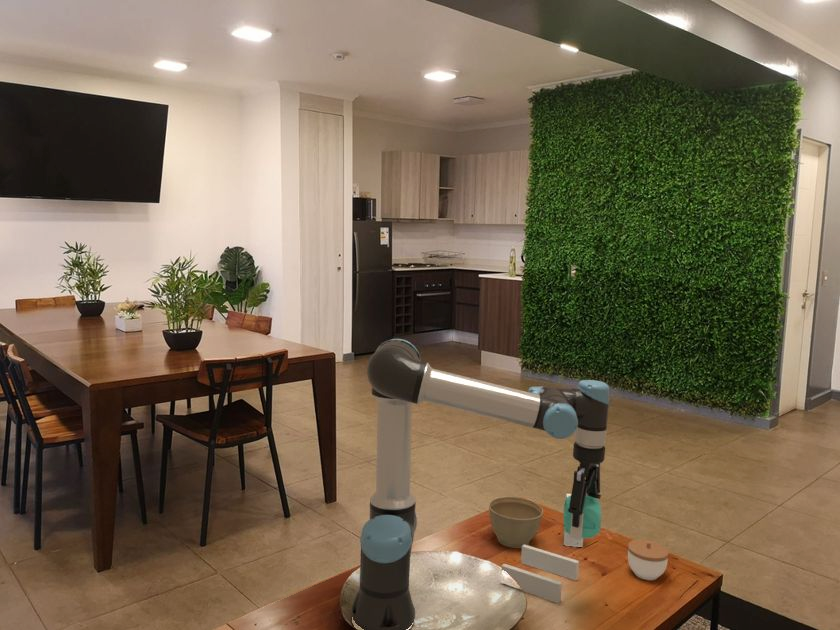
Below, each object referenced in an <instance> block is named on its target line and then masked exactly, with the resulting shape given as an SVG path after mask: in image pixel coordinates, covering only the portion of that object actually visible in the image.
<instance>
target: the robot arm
mask: <svg viewBox="0 0 840 630" xmlns="http://www.w3.org/2000/svg"><path fill="white" fill-rule="evenodd" d="M366 377H367V379H368V382H369V384H370V386H371V397H373V398H374V399H375V400H376V401H377V415H376V419H377V420H376V421H377V424H376V465H375V466H376V473H375V476H376V479H375V482H376V485H375V493H373V494H372V495H371V496H370V498H369V519H368V520H367V521H366V522H365V523H364V525H363V527H362V529H361V535H360V539H359V542H360V561H359V562H360V565H359V566H360V567H359V587H358V591H357V594H356V597H355V599H354V601H353V605H352V606H351V611H350V613H351V614H350V616H351V615H352V617H353V620H354V621H355V623H356V624H357V625H358V626H360V627H361V628H362V629H364V630H406V629H408V628H409V627H410V626H411V625H412V623H413V622H414V619H415V620H416V609H415V605H414V604H413V599H412V596H411V591H410V570H411V567H410V566H411V556H412V554H411V553H412V548H413V543H414V538H415V534H416V533H415V532H416V530H417V525H418V520H417V519H418V518H417V514H416V500H417V499H416V496H414V495H413V494H412V492H411V463H412V462H411V459H412V458H411V454H412V420H413V419H412V414H413V412H412V411H413V404H415V405H419V404H421V403H423V402H427V403H431V404H435V405H440V406H442V407H448V408H451V409H456V410H459V411H464V412H467V413H471V414H475V415H480V416H484V417H488V418H491V419H496V420H500V421H504V422H507V423H512V424H516V425H520V426H525V427H529V428H532V429H535V430H536V429H537V430H539V431H542V432H543V431H544V432H546V434H548V435H549V436H550V437H552V438H554V439H557V440H563V439H564V440H565V439H567V438H570V437H571V436H573V434H574V438H573V440H574V442H573V449H572V457H573V459H574V460H576V461H578V463H579V466H578V467H577V469H576V470H574V471H573V482H572V487H571V493H570V494H571V500H570V506H569V509H568V512H569V513H572V515H571V528H570V538H574V539H577V540H581V539H582V528H583V516H584V514H583V507H584V503H585V498H586V495H588V496H591V497H594V498H595V499H597V500H598V499H599V500H601V496H602V495H601V494H600V492H601V464H602V463H603V462H604V461H605V457H606V456H605V455H606V447H605V445H606V444H607V432H608V417H609V407H610V387H609V385H608V383H606V382H604V381H600V380H594V379H582V380H580V381H579V382H578V383H577V384H578V385H577V387H576V388H568V387H567V388H566V387H565V388H564V387H550V386H544V385H542V386H541V385H540V386H530V387H529V388H528V391H524V390H521V389H517V388H513V387H508V386H506V385H505V386H504V385H500V384H496V383H493V382H488V381H484V380H480V379H477V378H472V377H468V376H464V375H460V374H457V373H452V372H448V371H445V370H444V371H443V370H441V369H437V368H436V369H435V368H433V367H432V366H431V365H430V363H429V362H426V361H422V359H421V356H420V353H419V350H418V349H417V348H416V346H415V345H414V344H412V343H411V342H410V341H408V340H407V339H406V340H405V339H402V338H392V339H388V340H386V341H384V342H382V343H380V345H379V346H378V347H377V348H376V350H375V352H374V353H373V354H372V355H371V356H370V357H369V360H368V362H367V365H366Z"/></svg>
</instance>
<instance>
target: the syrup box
mask: <svg viewBox="0 0 840 630" xmlns="http://www.w3.org/2000/svg"><path fill="white" fill-rule="evenodd" d="M571 494H572V493H566V494H565V499H566V498H567V497H568V496H570V495H571ZM564 545H565V547H569V546H573V547H572V548H576V547H583V546H584V538H582V539H581V540H577V539H574V538H570V534H569V533H567V532H566V531H565V529H564V528H563V546H564ZM583 548H584V547H583Z"/></svg>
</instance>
